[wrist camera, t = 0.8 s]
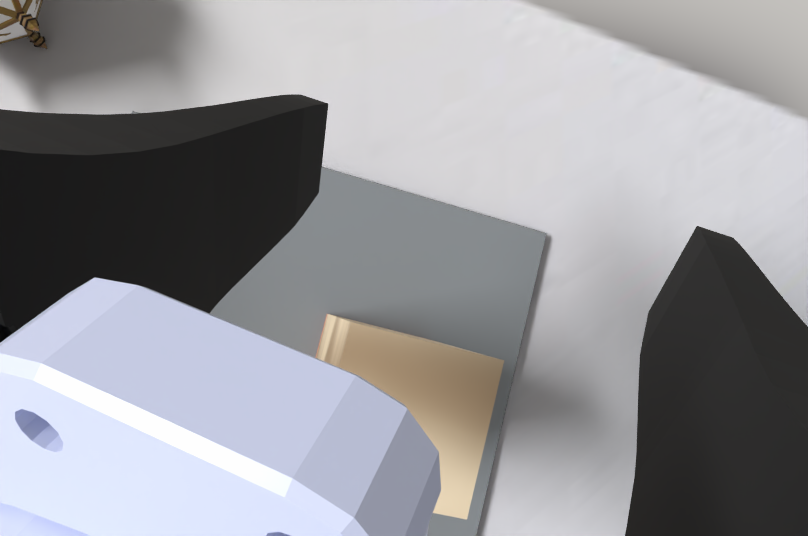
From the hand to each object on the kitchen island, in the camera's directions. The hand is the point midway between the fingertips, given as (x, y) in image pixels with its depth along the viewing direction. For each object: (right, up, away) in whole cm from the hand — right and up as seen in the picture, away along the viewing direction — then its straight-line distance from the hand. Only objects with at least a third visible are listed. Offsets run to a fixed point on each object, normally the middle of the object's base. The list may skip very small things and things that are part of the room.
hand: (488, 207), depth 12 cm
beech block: (-3, -6, +17) cm, 18 cm away
